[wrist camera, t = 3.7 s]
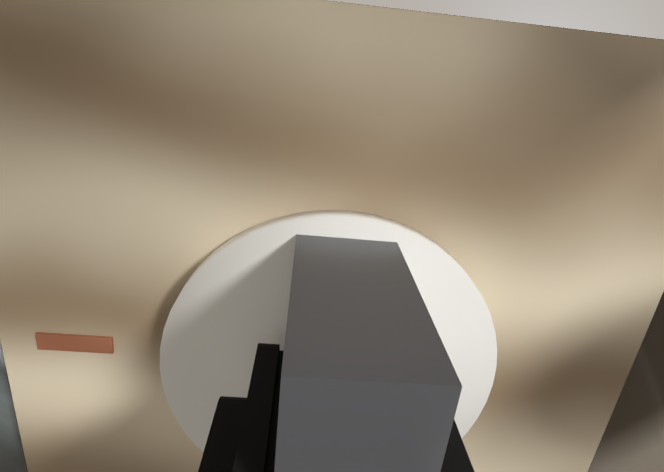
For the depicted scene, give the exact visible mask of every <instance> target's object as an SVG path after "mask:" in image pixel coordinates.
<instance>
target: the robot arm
mask: <svg viewBox="0 0 664 472" xmlns="http://www.w3.org/2000/svg"><path fill="white" fill-rule="evenodd" d="M283 352H284V351H283V350H280V344H266V343H258V346H257V350H256V355H255V360H254V365H253V370H252V375H251V380H250V385H249V390H248V395H247V398H244V397H225V396H220V398H219V400H218V403H217V407H216V410H215V414H214V417H213V421H212V424H211V428H210V431H209V435H208V438H207V442H206V445H205V449H204V452H203V456H202V459H201V463H200V466H199V470H198V472H274V468H275V454H276V439H277V425H278V411H279V397H280V382H281V371H282V362H283ZM440 472H474V469H473V466H472V464H471V461H470V459H469V456H468V454H467V451H466V448H465V446H464V443H463V441H462V438H461V435H460V433H459V430H458V428H457V425H456V423H455V420H454V421H453V425H452V429H451V433H450V436H449V440H448V444H447V448H446V452H445V456H444V460H443V464H442V467H441V471H440Z"/></svg>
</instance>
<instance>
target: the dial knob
mask: <svg viewBox="0 0 664 472" xmlns="http://www.w3.org/2000/svg"><path fill="white" fill-rule="evenodd" d="M258 343H266V344H280V350H283V351H284V352H283V362H282V371H281V382H280V397H279V411H278V425H277V439H276V454H275V468H274V472H440V471H441V467H442V464H443V460H444V456H445V452H446V448H447V444H448V440H449V436H450V433H451V429H452V425H453V421H454V420H455V423H456V425H457V428H458V430H459V433H460V435H461V438H463V436H464V435H465V434H466V433H467V432H468V431H469V429H470V428H471V427H472V425H473V424H474V423H475V421H476V420H477V418H478V417H479V415H480V413H481V411H482V409H483V408H484V406H485V404H486V402H487V399H488V397H489V394H490V391H491V388H492V386H493V382H494V377H495V372H496V366H497V342H496V333H495V328H494V325H493V321H492V318H491V314H490V312H489V309H488V307H487V305H486V303H485V301H484V299H483V296H482V295H481V293H480V292H479V290H478V289H477V287H476V286H475V284H474V283H473V281H472V280H471V278H470V277H469V276H468V274H467V273H466V271H465V270H464V269H463V267H462V266H461V265H460V264H459V263H458V262H457V261H456V260H455V259H454V258H453V257H452V255H451V254H450V253H449V252H447V251H446V250H445V249H444V248H442V247H441V246H440V245H439V244H437V243H436V242H435V241H434V240H432V239H431V238H429V237H427V236H426V235H424V234H422V233H421V232H419V231H417V230H416V229H414V228H411V227H409V226H407V225H404V224H402V223H400V222H397V221H395V220H392V219H388V218H385V217H381V216H378V215H374V214H370V213H363V212H356V211H350V210H316V211H307V212H298V213H294V214H290V215H286V216H281V217H277V218H274V219H271V220H269V221H266V222H263V223H261V224H258V225H255V226H253V227H251V228H249V229H247V230H245V231H244V232H242V233H240V234H238V235H236V236H234V237H233V238H231V239H230V240H228V241H227V242H226V243H224V244H223V245H221V246H220V247H219V248H217V249H216V250H215V251H214V252H213V253H212V254H211V255H209V256H208V257H207V258H206V259H205V260H204V261H203V262H202V263H201V264H200V265H199V266H198V268H197V269H196V270H195V272H194V273H193V274H192V275H191V277H190V278H189V279H188V281H187V282H186V284H185V286H184V287H183V289H182V291H181V293H180V294H179V296H178V298H177V300H176V301H175V303H174V305H173V307H172V309H171V310H170V313H169V316H168V319H167V321H166V324H165V327H164V330H163V335H162V340H161V345H160V373H161V380H162V386H163V389H164V393H165V396H166V399H167V402H168V404H169V406H170V408H171V411H172V413H173V415H174V417H175V419H176V420H177V422H178V423H179V425H180V426H181V428H182V429H183V431H184V432H185V433H186V435H187V436H188V437H189V438H190V439H191V440H192V441H193V442H194V444H195V445H196V446H197V447H198V448H199V449H200V450H202V451H203V452H204V449H205V445H206V442H207V438H208V435H209V431H210V428H211V424H212V421H213V417H214V414H215V410H216V407H217V403H218V400H219V398H220V396H225V397H244V398H247V395H248V390H249V385H250V380H251V375H252V370H253V365H254V360H255V355H256V350H257V346H258Z"/></svg>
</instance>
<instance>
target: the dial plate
mask: <svg viewBox="0 0 664 472" xmlns="http://www.w3.org/2000/svg"><path fill="white" fill-rule="evenodd" d="M316 210H350V211H356V212H363V213H370V214H374V215H378V216H381V217H385V218H388V219H392V220H395V221H397V222H400V223H402V224H404V225H407V226H409V227H411V228H414V229H416V230H417V231H419V232H421V233H422V234H424V235H426V236H427V237H429V238H431V239H432V240H434V241H435V242H436V243H437V244H439V245H440V246H441V247H442V248H444V249H445V250H446V251H447V252H449V253H450V254H451V255H452V257H453V258H454V259H455V260H456V261H457V262H458V263H459V264H460V265H461V266H462V267H463V269H464V270H465V271H466V273H467V274H468V276H469V277H470V278H471V280H472V281H473V283H474V284H475V286H476V287H477V289H478V290H479V292H480V293H481V295H482V296H483V299H484V301H485V303H486V305H487V307H488V309H489V312H490V314H491V318H492V321H493V325H494V328H495V333H496V342H497V366H496V372H495V377H494V382H493V386H492V388H491V391H490V394H489V397H488V399H487V402H486V404H485V406H484V408H483V409H482V411H481V413H480V415H479V417H478V418H477V420H476V421H475V423H474V424H473V425H472V427H471V428H470V429H469V431H468V432H467V433H466V434H465V435H464V436H463V438H462V441H463V443H464V446H465V448H466V451H467V454H468V456H469V459H470V461H471V464H472V466H473V469H474V472H588V469H589V467H590V464H591V462H592V460H593V457H594V455H595V453H596V450H597V448H598V445H599V443H600V441H601V438H602V436H603V434H604V431H605V429H606V427H607V424H608V422H609V419H610V417H611V415H612V412H613V410H614V408H615V405H616V403H617V401H618V398H619V396H620V393H621V391H622V389H623V386H624V384H625V382H626V379H627V377H628V374H629V372H630V370H631V367H632V365H633V363H634V360H635V358H636V356H637V353H638V351H639V348H640V346H641V344H642V341H643V339H644V337H645V334H646V332H647V330H648V327H649V325H650V322H651V320H652V318H653V315H654V313H655V311H656V308H657V306H658V303H659V301H660V299H661V296H662V294H663V292H664V40H663V39H654V38H646V37H636V36H628V35H619V34H611V33H602V32H594V31H585V30H577V29H568V28H559V27H551V26H542V25H533V24H525V23H516V22H508V21H499V20H490V19H482V18H472V17H464V16H456V15H447V14H438V13H429V12H421V11H413V10H404V9H395V8H387V7H378V6H370V5H360V4H352V3H344V2H335V1H326V0H0V340H1V345H2V350H3V355H4V360H5V364H6V369H7V374H8V379H9V384H10V388H11V393H12V398H13V403H14V408H15V412H16V417H17V422H18V427H19V432H20V436H21V441H22V446H23V451H24V456H25V460H26V465H27V470H28V472H198V470H199V466H200V463H201V459H202V456H203V451H202V450H200V449H199V448H198V447H197V446H196V445H195V444H194V442H193V441H192V440H191V439H190V438H189V437H188V436H187V435H186V433H185V432H184V431H183V429H182V428H181V426H180V425H179V423H178V422H177V420H176V419H175V417H174V415H173V413H172V411H171V408H170V406H169V404H168V402H167V399H166V396H165V393H164V389H163V386H162V380H161V373H160V345H161V340H162V335H163V330H164V327H165V324H166V321H167V319H168V316H169V313H170V310H171V309H172V307H173V305H174V303H175V301H176V300H177V298H178V296H179V294H180V293H181V291H182V289H183V287H184V286H185V284H186V282H187V281H188V279H189V278H190V277H191V275H192V274H193V273H194V272H195V270H196V269H197V268H198V266H199V265H200V264H201V263H202V262H203V261H204V260H205V259H206V258H207V257H208V256H209V255H211V254H212V253H213V252H214V251H215V250H216V249H217V248H219V247H220V246H221V245H223V244H224V243H226V242H227V241H228V240H230V239H231V238H233V237H234V236H236V235H238V234H240V233H242V232H244V231H245V230H247V229H249V228H251V227H253V226H255V225H258V224H261V223H263V222H266V221H269V220H271V219H274V218H277V217H281V216H286V215H290V214H294V213H298V212H307V211H316Z"/></svg>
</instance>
